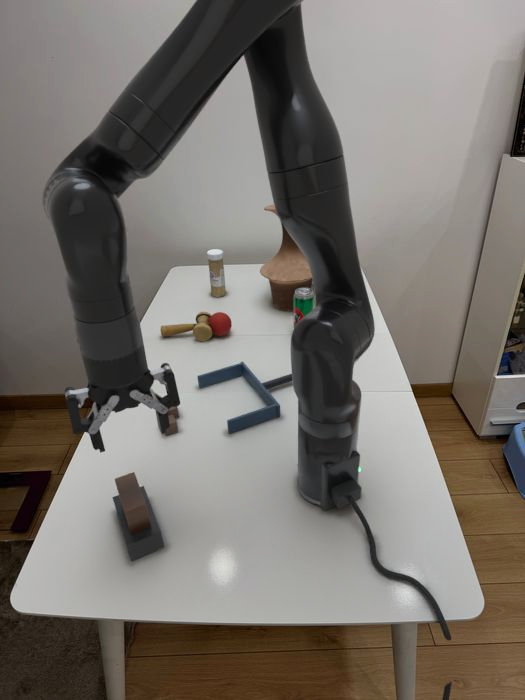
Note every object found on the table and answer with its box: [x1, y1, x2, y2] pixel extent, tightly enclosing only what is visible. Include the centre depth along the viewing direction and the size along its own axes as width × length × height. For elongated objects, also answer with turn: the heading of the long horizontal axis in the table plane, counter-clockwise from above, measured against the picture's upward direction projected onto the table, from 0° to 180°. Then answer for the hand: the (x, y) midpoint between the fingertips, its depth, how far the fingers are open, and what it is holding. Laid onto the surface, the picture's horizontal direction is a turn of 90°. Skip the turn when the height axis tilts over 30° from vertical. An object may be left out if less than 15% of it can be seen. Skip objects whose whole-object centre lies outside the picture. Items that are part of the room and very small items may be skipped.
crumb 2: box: [164, 415, 179, 436], centre depth 94 cm, size 2×2×2 cm
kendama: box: [159, 310, 233, 342], centre depth 124 cm, size 8×6×18 cm
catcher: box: [197, 361, 292, 434], centre depth 102 cm, size 18×19×3 cm
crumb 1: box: [168, 406, 180, 420], centre depth 97 cm, size 2×2×2 cm
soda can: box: [292, 288, 315, 328], centre depth 121 cm, size 5×5×12 cm
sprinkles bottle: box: [206, 248, 227, 298], centre depth 142 cm, size 5×5×14 cm
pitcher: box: [259, 204, 313, 312], centre depth 131 cm, size 18×17×28 cm
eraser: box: [112, 471, 165, 562], centre depth 73 cm, size 10×5×8 cm, turn 26°
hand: (133, 439), depth 69 cm, fingers open, 8 cm apart
